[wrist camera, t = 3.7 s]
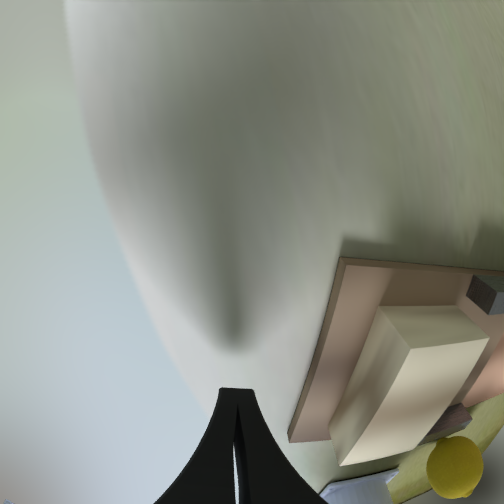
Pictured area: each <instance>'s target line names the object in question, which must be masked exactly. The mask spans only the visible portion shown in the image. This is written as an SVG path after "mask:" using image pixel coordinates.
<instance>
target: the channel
mask: <svg viewBox="0 0 504 504" xmlns="http://www.w3.org/2000/svg"><path fill="white" fill-rule="evenodd" d="M466 297H468V298H469V299H470V300H471V301H472V302H474V303H475V304H476V305H477V306H478V307H479V308H480V309H482V310H483V311H484V312H485V313H486V314H487V315H497V314H504V276H491V275H476V274H473V277H472V280H471V282H470V285H469V288H468V291H467V293H466ZM471 420H472V417H471V416H470V414H469V413H468V411H467V410H466V408H465V407H464V405H463V404H462V402H461V403H458V404H455V405H452V406H449V407H447V408H446V410H445V411H444V413H443V414H442V415H441V417H440V418H439V419H438V420H437V422H436V423H435V424H434V426H433V427H432V428H431V429H430V431H429V432H428V433H427V434H426V435H425V437H424V438H423V439H422V440H421V441H420V442H419V444H418V445H417V446H419V445H422V444H425V443H428V442H431V441H434V440H437V439H440V438H442V437H445V436H448V435H450V434H453V433H455V432H458V431H460V430H463V429H465V428H466V426H467V425H468V424H469V423H470V422H471Z"/></svg>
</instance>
